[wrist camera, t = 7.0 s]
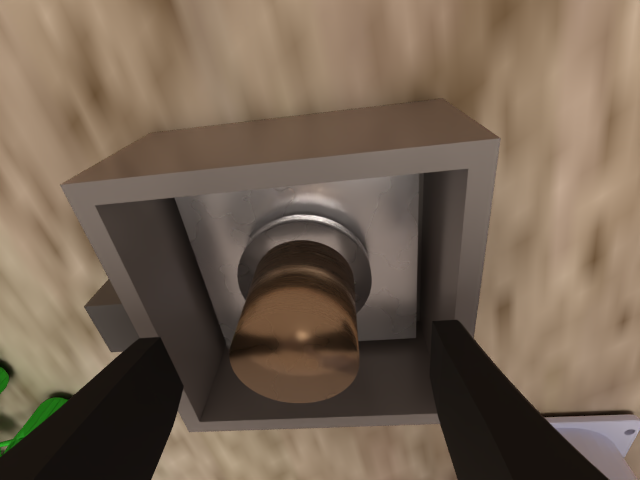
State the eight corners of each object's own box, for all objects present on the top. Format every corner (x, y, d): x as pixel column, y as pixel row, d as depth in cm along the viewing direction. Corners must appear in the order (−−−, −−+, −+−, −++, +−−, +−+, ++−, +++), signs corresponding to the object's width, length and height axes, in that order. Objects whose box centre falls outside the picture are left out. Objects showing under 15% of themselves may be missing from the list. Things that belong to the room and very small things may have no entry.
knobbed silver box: (430, 321, 17) (462, 422, 13) (193, 336, 18) (149, 433, 14) (441, 97, 12) (500, 138, 8) (110, 136, 13) (-1, 191, 9)
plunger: (413, 329, 15) (443, 444, 11) (231, 339, 16) (193, 451, 12) (416, 141, 11) (464, 211, 7) (171, 168, 12) (82, 245, 8)
